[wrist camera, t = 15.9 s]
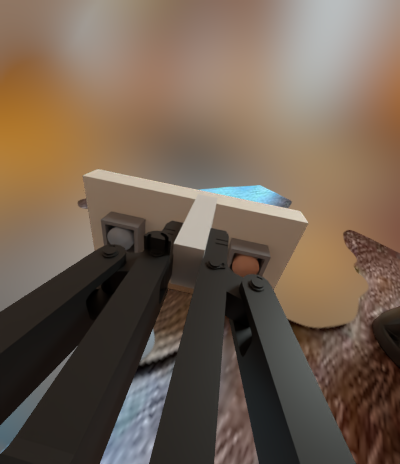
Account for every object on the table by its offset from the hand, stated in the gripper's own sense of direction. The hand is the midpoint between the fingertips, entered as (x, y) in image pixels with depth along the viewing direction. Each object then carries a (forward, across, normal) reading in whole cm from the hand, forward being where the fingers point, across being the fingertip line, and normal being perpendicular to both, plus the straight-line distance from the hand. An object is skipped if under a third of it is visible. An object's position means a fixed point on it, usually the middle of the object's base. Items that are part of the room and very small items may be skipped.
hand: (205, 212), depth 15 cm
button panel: (+15, -4, -25) cm, 29 cm away
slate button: (+10, -13, -14) cm, 22 cm away
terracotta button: (+11, +7, -15) cm, 19 cm away
